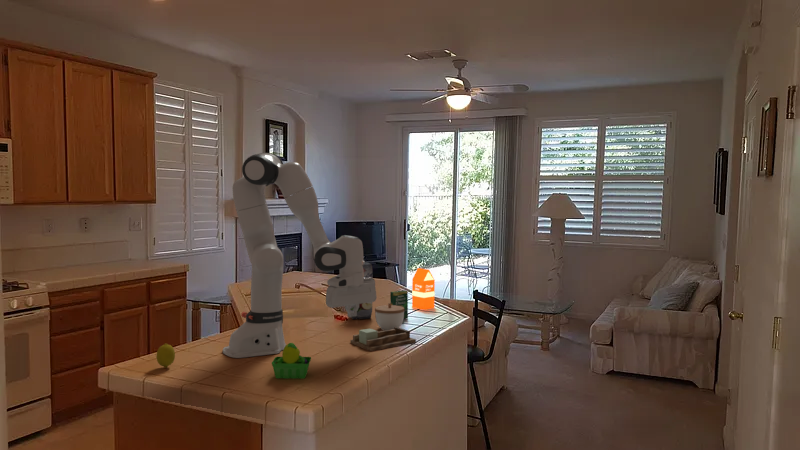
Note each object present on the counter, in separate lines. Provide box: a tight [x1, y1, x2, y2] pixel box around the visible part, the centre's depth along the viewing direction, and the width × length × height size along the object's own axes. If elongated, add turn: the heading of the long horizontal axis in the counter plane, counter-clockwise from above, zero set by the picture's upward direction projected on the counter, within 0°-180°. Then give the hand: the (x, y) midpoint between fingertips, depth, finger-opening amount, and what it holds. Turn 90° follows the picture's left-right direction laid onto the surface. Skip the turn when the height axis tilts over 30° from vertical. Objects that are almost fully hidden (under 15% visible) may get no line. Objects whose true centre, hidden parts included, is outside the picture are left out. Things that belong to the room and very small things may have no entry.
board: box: [350, 327, 417, 352], centre depth 210 cm, size 21×14×4 cm, turn 127°
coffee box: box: [390, 289, 409, 320], centre depth 252 cm, size 8×3×13 cm, turn 118°
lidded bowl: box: [374, 302, 405, 331], centre depth 233 cm, size 13×13×11 cm
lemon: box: [155, 342, 176, 369], centre depth 177 cm, size 6×6×8 cm
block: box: [358, 328, 379, 344], centre depth 206 cm, size 5×5×4 cm
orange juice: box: [411, 267, 436, 310], centre depth 280 cm, size 8×9×20 cm
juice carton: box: [350, 260, 374, 320], centre depth 254 cm, size 9×10×27 cm
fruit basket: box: [271, 342, 312, 380], centre depth 169 cm, size 11×9×11 cm
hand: (352, 316), depth 201 cm, fingers closed
